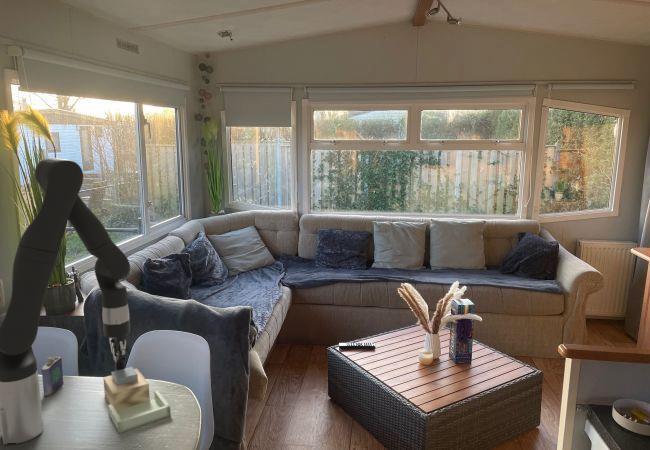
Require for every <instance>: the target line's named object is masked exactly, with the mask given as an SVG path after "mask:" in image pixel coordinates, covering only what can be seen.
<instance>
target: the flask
mask: <svg viewBox="0 0 650 450" xmlns="http://www.w3.org/2000/svg"><path fill="white" fill-rule="evenodd" d="M45 360H47V362H46V363H45V364H44V365H43V366H42V368H41V378H42V388H43V396H44V397H50V396H51V395H53V394H54V392H56V391H57V390H58V389H59V388H60V387H61V386H62V385H63V384H64V375H63V372H64V371H63V362H62V360H63V359H62V356H54V357H52V356H48V357H46V359H45Z"/></svg>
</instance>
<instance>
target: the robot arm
mask: <svg viewBox="0 0 650 450" xmlns="http://www.w3.org/2000/svg"><path fill="white" fill-rule="evenodd" d="M34 177H35V181H36V183H37V184H38V185H39V186H40V187H41V188H42V190H43V191H44V192H45V193H44V197H43V200H42V204H41V206H40V209H39V211H38V213H37V214H36V215H35V217H34V219H32V221H31V222H30V223H29V225H28V226H27V228H26V229H25V231H24V232H23V233H22V235H21V237H20V240H19V243H18V246H17V249H16V252H15V255H14V259H13V265H12V275H11V276H12V277H11V278H12V281H11V282H12V283H11V284H12V285H11V298H10V301H9V304H8V306H7V307H8V308H7V310H6V312H3V313H2V314H0V429H1V434H2V435H1V437H2V443H3V445H4V444H6V445H8V444H7V443H16V444H21V443H25V442H29V441H31V440H33V439H35V438H37V437H38V436H39V435H40V434H41V433H42V432H43V431H44V418H43V409H42V402H41V401H42V400H41V391H40V383H39V371H38V362H37V358H36V356H35V353H34V350H33V347H32V345H33V344H34V343H35V341H36V340H37V339H36V338H37V334H38V330H39V325H40V319H41V315H42V306H43V304H44V300H45V296H46V294H47V291H48V288H49V285H50V281H51V278H52V276H53V271H54V269H55V266H56V264H57V260H58V256H59V253H60V249H61V245H62V242H63V239H64V235H65V232H66V229H67V224H68V223H70V225H71V226H72V228H73V229H74V231H75V232H76V234H77V235H78V237H79V239H80V240H81V242H82V244H83V245H84V247H85V248H86V250H87V252H88V253H89V254H90V256H93V257H95V258H97V259H96V261H95V263H94V264H95V265H94V273H95V278H96V280H97V284H98V287H99V289H100V292H101V300H102V301H101V302H102V310H101V312H102V315H101V316H102V325H103V326H102V329H103V336H105V337H106V338H108V342H109V347H110V350H111V355H112V357H113V360H114V365H115V366H114V367H115V371H117V370H121V369H125V363H124V362H125V361H127V358H128V354H129V350H128V348H126V346H127V339H126V338H125V336H126V335H129V334H130V332H131V323H130V322H131V320H130V309H129V304H128V303H129V302H128V301H129V300H128V291H127V287H126V286H125V285H123V283H121V282H120V281H121V280H124V279H125V278H127V277H128V276H129V274H130V271H131V263H130V261H129V259H128V257H127V255H126V254H125V253H124V252H123V251H122V249H120V247H119V246H117V245H116V243H115V242H113V240H112V238H111V237H110V235H109V232H108V231H107V229H106V228H105V226H104V225H103V223H102V221H101V220H100V219H99V218H98V216H97V215H96V214H95V213H94V212H93V211H92V210H91V209H90V208H89V206H87V204H86V203H85V202H84V201H83V199H82V198H81V196H80V195H79V193H80V192H81V189H82V187H83V183H84V172H83V169H82V167H81V165H80V164H78V163H77V162H76V161H73V160H71V159H68V158H66V159H65V158H59V157H47V158H44V159H42V160H40V161H39V162H38V163H37V164H36V166H35V169H34Z"/></svg>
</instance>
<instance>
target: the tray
mask: <svg viewBox="0 0 650 450" xmlns="http://www.w3.org/2000/svg"><path fill="white" fill-rule="evenodd" d="M153 393H154V398H153V399H151V400H149V401H146V402H143V403H140V404H137V405H133V406H130V407H127V408H124V409H121V410H117V411H116V410H115V408H114V407H113V405H112V404H108V415H109V417H110V419H111V421H112V423H113V425H114V427H115V428H116V431H117V432H118V434H121V433H125V432H128V431H130V430H132V429H136V428H139V427H141V426H145V425H147V424H150V423H151V424H152V423H153V422H156V421H159V420H162V419H164V418H165V419H166V418H169V417H171V406H170V404H169V403H168V401H167V400H166V399H165V397H164V396H163V395H162V394H161V393H160V391H159V390H158V389H156V390H154V392H153Z"/></svg>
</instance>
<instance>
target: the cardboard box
mask: <svg viewBox="0 0 650 450" xmlns="http://www.w3.org/2000/svg"><path fill="white" fill-rule="evenodd" d="M133 369H134V370H135V371H136V373H137V374H138V380H137V381H133V382H130V383H126V384H122V385H119V386H117V385H116V384H115V382H114V381H113V379H112V374H111V375H108V376H104V377H102V378H103V391H104V392H103V393H104V397H105V399H106V400H107V403H108V405H110V404H112V405H113V407H114V408H115V410H116V411H117V410H121V409H124V408H127V407H130V406H133V405H137V404H140V403H143V402H146V401H149V400H150V383H149V382H148V381H147V380H146V378H145V376H144V375H143V374H142V373H141V371H140V370H139V369H138V368H133Z"/></svg>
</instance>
